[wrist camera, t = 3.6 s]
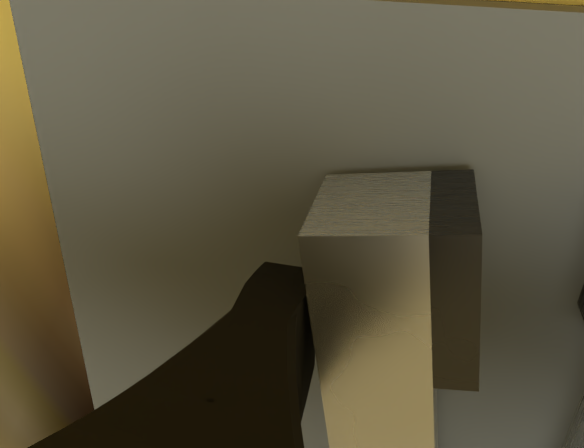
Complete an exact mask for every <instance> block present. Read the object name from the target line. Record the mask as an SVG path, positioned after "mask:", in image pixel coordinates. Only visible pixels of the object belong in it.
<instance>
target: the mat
mask: <svg viewBox="0 0 584 448" xmlns="http://www.w3.org/2000/svg"><path fill="white" fill-rule="evenodd" d="M9 1H10V6H11V11H12V16H13V21H14V25H15V30H16V35H17V40H18V45H19V49H20V54H21V59H22V64H23V69H24V73H25V78H26V83H27V88H28V93H29V97H30V102H31V107H32V112H33V117H34V121H35V126H36V131H37V136H38V141H39V145H40V150H41V155H42V160H43V165H44V170H45V174H46V179H47V184H48V189H49V194H50V198H51V203H52V208H53V213H54V218H55V222H56V227H57V232H58V237H59V242H60V246H61V251H62V256H63V261H64V266H65V270H66V275H67V280H68V285H69V290H70V294H71V299H72V304H73V309H74V314H75V319H76V323H77V328H78V333H79V338H80V343H81V347H82V352H83V357H84V362H85V367H86V371H87V376H88V381H89V386H90V391H91V395H92V400H93V405H94V410H95V409H97V408H98V407H100V406H101V405H103V404H105V403H106V402H108V401H109V400H111V399H113V398H114V397H116V396H117V395H119V394H120V393H122V392H123V391H125V390H126V389H128V388H129V387H131V386H132V385H134V384H135V383H136V382H138V381H139V380H141V379H142V378H144V377H145V376H147V375H148V374H149V373H151V372H152V371H154V370H155V369H156V368H158V367H159V366H160V365H162V364H163V363H164V362H166V361H167V360H168V359H170V358H171V357H172V356H174V355H175V354H176V353H178V352H179V351H180V350H182V349H183V348H184V347H186V346H187V345H188V344H190V343H191V342H192V341H194V340H195V339H196V338H197V337H199V336H200V335H201V334H202V333H204V332H205V331H206V330H207V329H208V328H210V327H211V326H212V325H213V324H214V323H216V322H217V321H218V320H219V319H220V318H222V317H223V316H224V315H225V314H226V313H228V312H229V311H230V310H231V309H232V307H233V306H234V304H235V302H236V300H237V298H238V296H239V294H240V292H241V290H242V288H243V286H244V284H245V283H246V282H247V280H248V279H249V278H250V277H251V275H252V274H253V273H254V272H255V271H256V270H257V269H258V268H259V267H260V266H261V265H262V264H263V263H264V262H272V263H278V264H285V265H291V266H298V267H302V262H301V256H300V249H299V242H298V235H299V232H300V230H301V228H302V226H303V224H304V222H305V219H306V217H307V215H308V213H309V211H310V209H311V207H312V204H313V202H314V200H315V198H316V196H317V194H318V192H319V189H320V187H321V185H322V183H323V181H324V179H325V177H326V175H334V174H361V173H388V172H415V171H441V170H468V169H474V175H475V183H476V191H477V198H478V206H479V213H480V221H481V228H482V277H481V323H480V369H479V392H477V391H462V390H448V389H437V424H438V448H562V446H563V444H564V441H565V439H566V436H567V434H568V431H569V429H570V426H571V424H572V421H573V419H574V416H575V414H576V411H577V409H578V406H579V404H580V401H581V399H582V396H583V393H584V321H583V318H582V315H581V312H580V309H579V307H578V304H577V302H578V299H579V296H580V293H581V290H582V287H583V285H584V6H577V5H559V4H541V3H523V2H506V1H488V0H9ZM301 428H302V435H303V442H304V448H329V442H328V435H327V428H326V422H325V415H324V408H323V402H322V395H321V389H320V382H319V375H318V369H317V362H316V355H315V366H314V370H313V375H312V379H311V383H310V388H309V392H308V396H307V401H306V405H305V409H304V413H303V417H302V421H301Z"/></svg>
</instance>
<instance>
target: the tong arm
mask: <svg viewBox="0 0 584 448" xmlns="http://www.w3.org/2000/svg"><path fill="white" fill-rule="evenodd" d="M298 242H299V249H300V256H301V262H302V269H303V276H304V282H305V289H306V296H307V302H308V309H309V315H310V322H311V329H312V335H313V342H314V349H315V355H316V362H317V369H318V375H319V382H320V389H321V395H322V402H323V408H324V415H325V422H326V428H327V435H328V442H329V448H438V424H437V389H448V390H462V391H477V392H479V369H480V323H481V277H482V228H481V221H480V213H479V206H478V198H477V191H476V183H475V175H474V169H468V170H441V171H415V172H388V173H361V174H334V175H326V177H325V179H324V181H323V183H322V185H321V187H320V189H319V192H318V194H317V196H316V198H315V200H314V202H313V204H312V207H311V209H310V211H309V213H308V215H307V217H306V219H305V222H304V224H303V226H302V228H301V230H300V232H299V235H298Z"/></svg>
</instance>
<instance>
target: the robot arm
mask: <svg viewBox="0 0 584 448" xmlns="http://www.w3.org/2000/svg"><path fill="white" fill-rule="evenodd" d="M314 366H315V349H314V342H313V335H312V329H311V322H310V315H309V309H308V302H307V296H306V289H305V282H304V276H303V269H302V267H298V266H291V265H285V264H278V263H272V262H264V263H263V264H262V265H261V266H260V267H259V268H258V269H257V270H256V271H255V272H254V273H253V274H252V275H251V277H250V278H249V279H248V280H247V282H246V283H245V284H244V286H243V288H242V290H241V292H240V294H239V296H238V298H237V300H236V302H235V304H234V306H233V307H232V309H231V310H230V311H229V312H228V313H226V314H225V315H224V316H223V317H222V318H220V319H219V320H218V321H217V322H216V323H214V324H213V325H212V326H211V327H210V328H208V329H207V330H206V331H205V332H204V333H202V334H201V335H200V336H199V337H197V338H196V339H195V340H194V341H192V342H191V343H190V344H188V345H187V346H186V347H184V348H183V349H182V350H180V351H179V352H178V353H176V354H175V355H174V356H172V357H171V358H170V359H168V360H167V361H166V362H164V363H163V364H162V365H160V366H159V367H158V368H156V369H155V370H154V371H152V372H151V373H149V374H148V375H147V376H145V377H144V378H142V379H141V380H139V381H138V382H136V383H135V384H134V385H132V386H131V387H129V388H128V389H126V390H125V391H123V392H122V393H120V394H119V395H117V396H116V397H114V398H113V399H111V400H109V401H108V402H106V403H105V404H103V405H101V406H100V407H98V408H97V409H95V410H93V411H92V412H90V413H89V414H87V415H85V416H84V417H82V418H80V419H79V420H77V421H75V422H74V423H72V424H70V425H68V426H67V427H65V428H63V429H61V430H60V431H58V432H56V433H54V434H52V435H50V436H48V437H47V438H45V439H43V440H41V441H39V442H37V443H35V444H34V445H32V446H30V447H28V448H304V442H303V435H302V428H301V421H302V417H303V413H304V409H305V405H306V401H307V396H308V392H309V388H310V383H311V379H312V375H313V370H314Z"/></svg>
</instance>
